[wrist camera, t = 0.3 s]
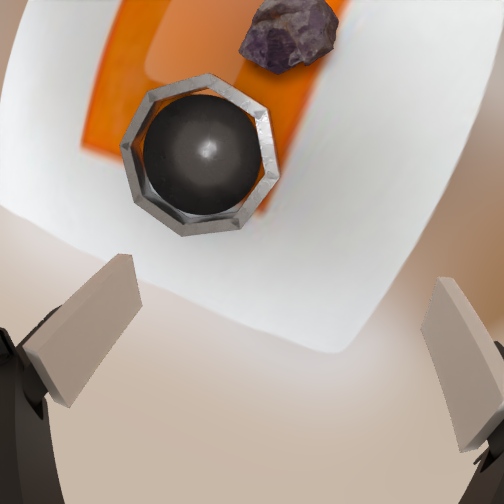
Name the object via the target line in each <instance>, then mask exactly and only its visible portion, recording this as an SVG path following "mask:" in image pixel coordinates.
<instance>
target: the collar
mask: <svg viewBox="0 0 504 504" xmlns="http://www.w3.org/2000/svg"><path fill="white" fill-rule="evenodd" d="M209 88H210V89H211V90H213V91H215V92H216V93H218V94H220V95H221V96H223V97H224V98H226V99H228V100H229V101H231V102H232V103H231V102H229V101H228V100H225V99H223V98H220V97H217V96H212V95H203V94H199V95H190V96H185V97H183V98H180V99H177V100H175V101H173V102H171V103H170V104H169V105H167V106H166V107H164V108H163V109H162V110H161V111H160V112H159V113H158V114H157V116H156V117H155V118H154V116H155V114H156V113H157V111H158V109H159V107H160V106H161V104H162V102H163V101H166V100H169V99H172V98H176V97H179V96H183V95H186V94H190V93H194V92H198V91H201V90H205V89H209ZM233 103H234V104H235V105H234V104H233ZM236 105H237V106H239V107H240V108H242V109H243V110H245V111H246V112H248V113H249V114H251V115H252V116H254V117H255V122H256V127H257V131H256V129H255V127H254V125H253V123H252V122H251V120H250V119H249V118H248V116H247V115H246V114H245V113H244V112H243V111H242V110H241V109H240V108H239V107H237V106H236ZM153 118H154V119H153ZM152 120H153V121H152ZM151 122H152V123H151ZM150 123H151V124H150ZM149 125H150V126H149ZM148 127H149V128H148ZM147 129H148V131H147ZM146 131H147V133H146ZM145 133H146V136H145V140H144V146H143V158H142V153H141V149H140V145H139V144H140V142H141V140H142V138H143V136H144V135H145ZM257 133H258V134H257ZM120 149H121V154H122V158H123V162H124V166H125V170H126V174H127V178H128V182H129V186H130V189H131V193H132V197H133V200H134V203H135V204H137V205H138V206H139V207H141V208H142V209H144V210H145V211H146V212H148V213H149V214H151V215H152V216H153V217H155V218H156V219H158V220H159V221H160V222H162V223H163V224H165V225H166V226H167V227H169V228H170V229H172V230H173V231H174V232H176V233H177V234H179V235H180V236H181V237H183V236H191V235H198V234H207V233H215V232H223V231H231V230H240V229H241V228H242V227H243V226H244V224H245V223H246V222H247V220H248V219H249V218H250V216H251V215H252V214H253V212H254V211H255V210H256V208H257V207H258V206H259V204H260V203H261V202H262V200H263V199H264V198H265V196H266V195H267V194H268V192H269V191H270V190H271V188H272V187H273V186H274V184H275V183H276V182H277V180H278V179H279V177H280V175H281V171H280V165H279V159H278V154H277V148H276V142H275V136H274V131H273V125H272V120H271V114H270V110H269V109H268V108H266V107H265V106H263V105H262V104H260V103H259V102H257V101H256V100H254V99H253V98H251V97H250V96H248V95H247V94H245V93H243V92H242V91H240V90H239V89H237V88H235V87H234V86H232V85H231V84H229V83H227V82H226V81H224V80H222V79H221V78H219V77H217V76H216V75H213V74H211V73H207V74H203V75H199V76H195V77H192V78H188V79H185V80H182V81H178V82H175V83H172V84H168V85H165V86H162V87H159V88H156V89H153V90H150V91H147V93H146V95H145V97H144V98H143V100H142V102H141V104H140V106H139V108H138V109H137V111H136V113H135V115H134V117H133V119H132V121H131V123H130V125H129V127H128V129H127V131H126V133H125V135H124V137H123V139H122V141H121V143H120ZM261 154H262V160H263V165H264V171H265V175H264V176H263V178H262V179H261V180H260V182H259V183H258V184H257V186H256V187H255V189H254V190H253V191H252V193H251V194H250V195H249V197H248V198H247V200H246V201H245V202H244V204H243V205H242V206H241V208H240V209H239V211H238V212H233V213H226V214H218V215H211V214H216V213H220V212H223V211H226V210H228V209H230V208H231V207H233V206H235V205H236V204H237V203H239V202H240V201H241V200H242V199H243V198H244V197H245V196H246V195H247V194H248V192H249V191H250V190H251V188H252V187H253V185H254V183H255V181H256V179H257V177H258V173H259V170H260V165H261ZM143 161H144V162H143ZM147 177H148V178H147ZM148 179H149V181H150V183H151V185H152V186H153V188H154V189H155V191H156V192H157V193H158V195H159V196H160V197H161V198H162V199H161V198H160V197H158V196H157V195H156V194H154V193H153V192H151V190H150V186H149V182H148ZM164 200H165V201H164ZM174 207H175V208H176V209H175V208H174ZM177 209H179V210H181V211H183V212H186V213H190V214H195V215H211V216H204V217H197V218H188V217H187V216H185V215H184V214H183V213H181V212H180V211H178V210H177Z"/></svg>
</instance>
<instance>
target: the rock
mask: <svg viewBox="0 0 504 504" xmlns="http://www.w3.org/2000/svg"><path fill="white" fill-rule="evenodd" d="M338 23H339V21H338V19H337V17H336V15H335V14H334V12H333V10H332V8H331V7H330V6H329V5H328V4H327V3H326V2H325V1H324V0H265V1H264V2H263V3H262V5H261V6H260V8H259V9H258V10H257V12H256V14H255V15H254V17H253V20H252V24H251V27H250V29H249V31H248V32H247V34H246V37H245V39H244V41H243V42H242V44H241V47H240V49H239V53H240V54H241V55H242V56H243V57H245V58H246V59H248V60H251V61H253V62H255V63H257V64H258V65H260V66H261V67H263V68H265V69H267V70H269V71H271V72H273V73H275V74H281V73H283V72H285V71H287V70H289V69H290V68H293V67H295V66H296V65H297V64H299V63H300V62H304V63H305V66H308V65H310V64H311V63H313V62H314V61H315V60H317V59H318V58H320V57H322V56H324V55H325V54H327V53H329V52H330V51H331V50H333V49H334V48H333V44H334V41H335V39H336V30H337V27H338Z"/></svg>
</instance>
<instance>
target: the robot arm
mask: <svg viewBox="0 0 504 504" xmlns="http://www.w3.org/2000/svg"><path fill="white" fill-rule="evenodd" d="M141 307H142V302H141V298H140V293H139V289H138V283H137V279H136V274H135V268H134V263H133V258H132V255H128V254H117V255H116V256H115V257H114V258H112V259H111V260H110V261H109V262H108V263H107V264H106V265H105V266H104V267H103V268H101V269H100V270H99V271H98V272H97V273H96V274H95V275H94V276H93V277H92V278H90V279H89V280H88V281H87V282H86V283H85V284H84V285H83V286H82V287H81V288H80V289H79V290H78V291H77V292H75V293H74V294H73V295H72V296H71V297H70V298H69V299H68V300H67V301H66V302H65V303H64V304H63V305H61V306H59V307H57V308H55V309H54V310H52V311H51V312H50V313H49V314H48V315H47V316H46V317H45V318H44V320H42V321H41V322H40V323H39V324H38V326H37V327H35V328H34V329H33V330H32V331H31V332H30V333H29V334H28V335H27V336H26V337H25V338H24V339H23V340H22V341H21V342H20V343H19V344H18V346H16V347H15V346H14V344H13V342H12V340H11V338H10V336H9V334H8V332H7V331H6V330H5V329H4V328H1V327H0V504H65V503H64V499H63V495H62V491H61V487H60V483H59V478H58V474H57V469H56V464H55V458H54V452H53V446H52V440H51V433H50V425H49V416H48V406H47V401H46V399H45V397H44V396H45V394H46V393H47V392H49V394H50V395H51V397H52V398H53V400H54V401H55V402H56V403H59V404H61V405H63V406H65V407H67V408H70V407H71V405H72V404H73V402H74V401H75V399H76V398H77V396H78V395H79V393H80V392H81V391H82V389H83V387H84V386H85V385H86V383H87V382H88V380H89V379H90V377H91V376H92V375H93V373H94V372H95V370H96V369H97V367H98V366H99V365H100V363H101V362H102V360H103V359H104V357H105V356H106V355H107V353H108V352H109V351H110V349H111V348H112V346H113V345H114V344H115V342H116V341H117V339H118V338H119V337H120V335H121V334H122V333H123V331H124V330H125V329H126V327H127V326H128V325H129V323H130V322H131V320H132V319H133V318H134V316H135V315H136V314H137V313H138V311H139V310H140V308H141ZM421 331H422V334H423V336H424V339H425V342H426V344H427V347H428V350H429V352H430V355H431V357H432V361H433V363H434V366H435V369H436V372H437V375H438V378H439V381H440V384H441V387H442V390H443V393H444V396H445V399H446V403H447V406H448V409H449V413H450V416H451V420H452V423H453V427H454V431H455V434H456V438H457V442H458V446H459V451H460V453H462V452H467V451H471V450H475V449H478V448H479V447H480V446H481V445H482V444H483V443H484V442H485V441H486V440H487V441H488V444H489V447H488V448H487V449H486V450H485V451H484V452H483V453H482V454H481V455H480V456H479V457H478V458H477V459H476V460H475V462H474V463H473V464H474V465H475V464H477V463H478V462H479V461H480V460H481V461H480V463H479V465H478V467H477V469H476V471H475V473H474V475H473V477H472V480H471V481H470V483H469V486H468V487H467V489H466V491H465V493H464V495H463V496H462V498H461V500H460V502H459V503H458V504H504V347H503V346H502V345H501V344H500V343H499V342H498V341H493V340H492V338H491V337H490V335H489V333H488V332H487V330H486V328H485V326H484V325H483V323H482V322H481V320H480V318H479V317H478V315H477V314H476V312H475V310H474V309H473V307H472V306H471V304H470V303H469V301H468V300H467V298H466V297H465V295H464V294H463V292H462V291H461V289H460V288H459V286H458V285H457V283H456V282H455V281H454V279H453V278H450V277H438V278H437V281H436V284H435V288H434V291H433V294H432V298H431V300H430V303H429V307H428V310H427V312H426V315H425V319H424V321H423V324H422V327H421Z"/></svg>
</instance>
